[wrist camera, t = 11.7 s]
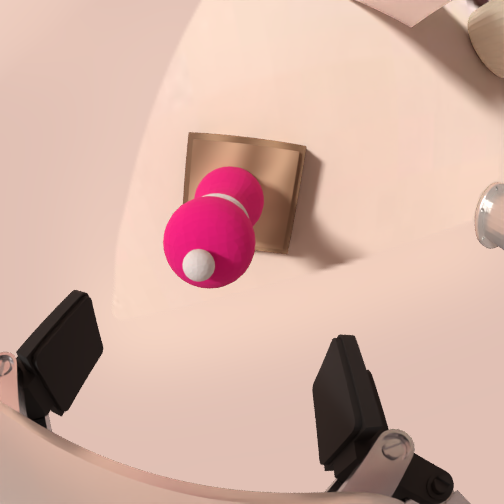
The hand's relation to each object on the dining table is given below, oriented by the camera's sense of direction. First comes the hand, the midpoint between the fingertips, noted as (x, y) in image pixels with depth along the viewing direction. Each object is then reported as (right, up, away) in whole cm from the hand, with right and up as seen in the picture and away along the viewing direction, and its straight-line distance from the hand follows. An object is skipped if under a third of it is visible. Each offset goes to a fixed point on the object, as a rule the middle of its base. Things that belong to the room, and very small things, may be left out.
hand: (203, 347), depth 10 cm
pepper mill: (0, +11, +23) cm, 25 cm away
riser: (0, +12, +26) cm, 29 cm away
